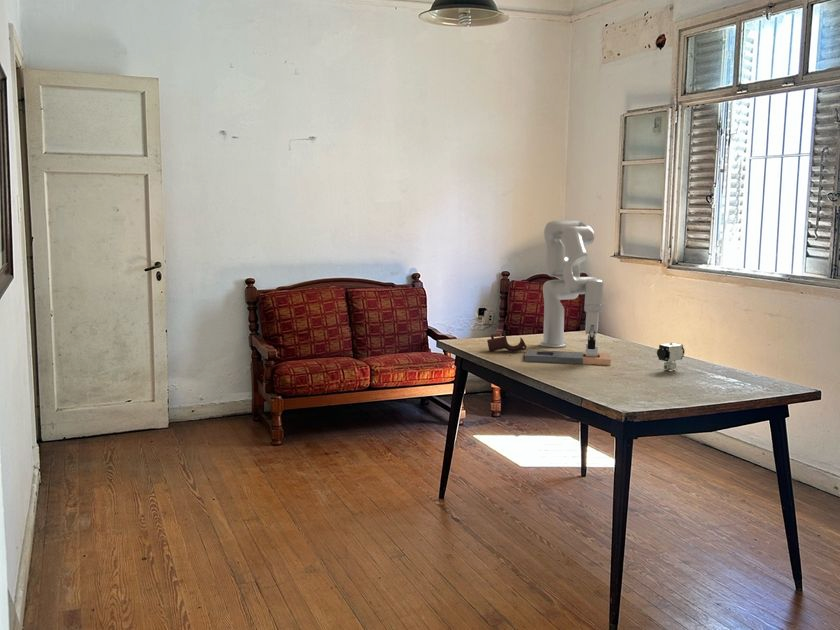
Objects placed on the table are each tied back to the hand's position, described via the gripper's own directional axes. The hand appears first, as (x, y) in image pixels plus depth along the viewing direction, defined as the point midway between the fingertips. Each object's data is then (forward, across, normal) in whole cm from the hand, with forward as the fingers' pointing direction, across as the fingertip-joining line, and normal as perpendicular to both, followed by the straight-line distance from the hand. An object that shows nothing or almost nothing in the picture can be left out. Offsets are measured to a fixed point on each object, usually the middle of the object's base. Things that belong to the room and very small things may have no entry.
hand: (591, 346), depth 350 cm
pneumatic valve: (+6, +12, +32) cm, 35 cm away
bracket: (+7, -13, -38) cm, 41 cm away
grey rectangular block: (+6, 0, 0) cm, 6 cm away
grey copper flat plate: (+6, 0, -10) cm, 12 cm away
